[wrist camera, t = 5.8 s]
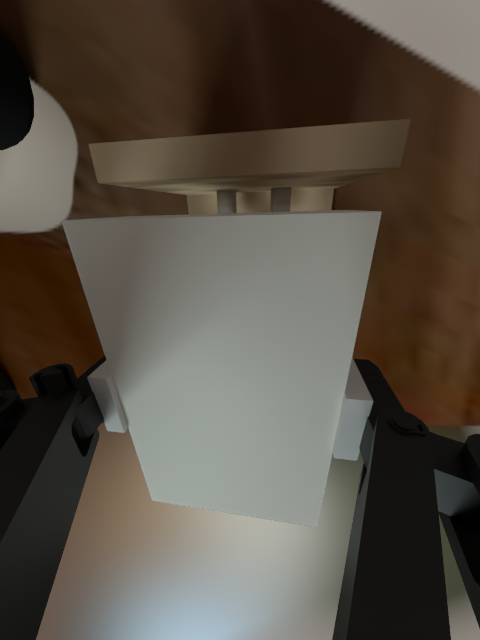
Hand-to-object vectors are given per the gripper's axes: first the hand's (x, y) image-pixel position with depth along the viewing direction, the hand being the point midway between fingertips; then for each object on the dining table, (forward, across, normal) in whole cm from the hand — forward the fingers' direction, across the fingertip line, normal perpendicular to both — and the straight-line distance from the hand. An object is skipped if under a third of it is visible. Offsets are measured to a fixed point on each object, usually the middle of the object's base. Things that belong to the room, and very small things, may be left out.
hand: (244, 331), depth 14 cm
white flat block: (-3, 0, 0) cm, 3 cm away
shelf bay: (+14, 0, 0) cm, 14 cm away
